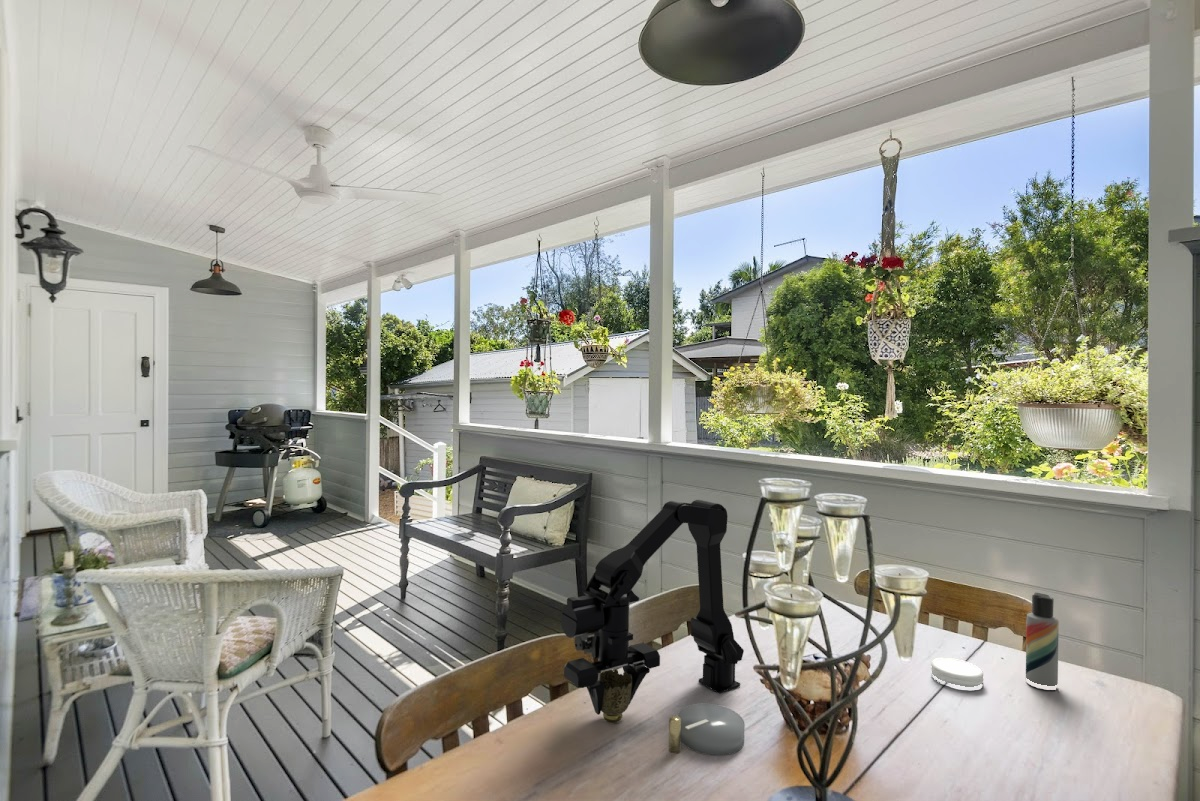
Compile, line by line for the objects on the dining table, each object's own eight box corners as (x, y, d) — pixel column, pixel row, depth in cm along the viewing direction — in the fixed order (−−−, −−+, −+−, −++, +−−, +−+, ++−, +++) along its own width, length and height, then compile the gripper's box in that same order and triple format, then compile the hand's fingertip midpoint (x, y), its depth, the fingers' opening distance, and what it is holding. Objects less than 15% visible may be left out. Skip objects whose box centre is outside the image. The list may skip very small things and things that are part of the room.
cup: (586, 723, 113) (586, 680, 113) (604, 705, 119) (604, 665, 119) (621, 734, 109) (622, 690, 109) (638, 715, 116) (638, 673, 116)
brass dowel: (675, 745, 106) (675, 714, 106) (682, 751, 104) (683, 719, 104) (666, 749, 105) (666, 717, 105) (673, 755, 103) (674, 722, 103)
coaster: (928, 683, 132) (928, 667, 132) (933, 668, 141) (933, 653, 141) (982, 697, 127) (982, 680, 127) (984, 680, 135) (984, 664, 135)
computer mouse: (711, 713, 117) (711, 696, 117) (758, 742, 107) (758, 724, 107) (663, 730, 111) (663, 713, 111) (709, 763, 101) (709, 744, 101)
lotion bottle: (1025, 677, 136) (1027, 588, 136) (1057, 684, 133) (1058, 593, 133) (1025, 686, 132) (1026, 594, 132) (1058, 694, 128) (1059, 600, 128)
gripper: (628, 605, 126) (627, 680, 126) (550, 622, 116) (548, 703, 116) (662, 622, 117) (661, 703, 117) (580, 642, 107) (579, 730, 107)
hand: (612, 708), depth 114 cm, fingers closed on cup, 6 cm apart
